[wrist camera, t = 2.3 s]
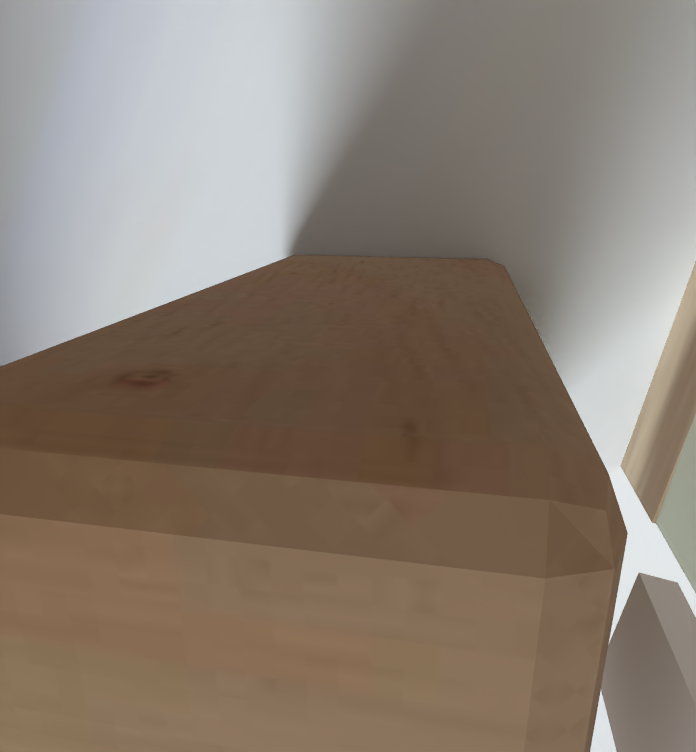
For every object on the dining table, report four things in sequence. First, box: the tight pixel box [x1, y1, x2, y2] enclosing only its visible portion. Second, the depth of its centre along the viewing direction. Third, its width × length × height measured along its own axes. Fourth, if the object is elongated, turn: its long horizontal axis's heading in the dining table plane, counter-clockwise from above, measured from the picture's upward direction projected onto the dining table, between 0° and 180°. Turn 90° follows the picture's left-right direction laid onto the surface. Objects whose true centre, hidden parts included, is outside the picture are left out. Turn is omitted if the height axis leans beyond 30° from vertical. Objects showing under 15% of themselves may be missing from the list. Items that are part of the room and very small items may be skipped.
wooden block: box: [0, 255, 627, 752], centre depth 17 cm, size 10×10×20 cm
